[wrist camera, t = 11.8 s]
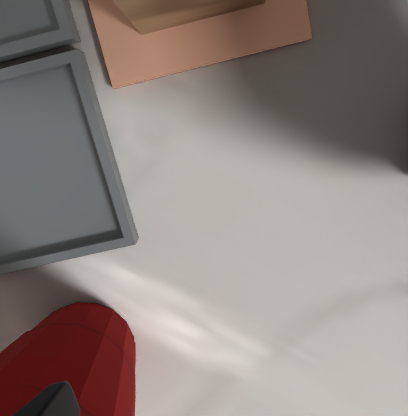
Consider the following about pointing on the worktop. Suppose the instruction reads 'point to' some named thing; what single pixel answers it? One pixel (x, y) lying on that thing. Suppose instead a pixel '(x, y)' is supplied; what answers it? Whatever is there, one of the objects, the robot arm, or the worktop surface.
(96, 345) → the plastic cup
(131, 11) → the cardboard box
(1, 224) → the tray
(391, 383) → the worktop surface
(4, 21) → the tray
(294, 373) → the worktop surface
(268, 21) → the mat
